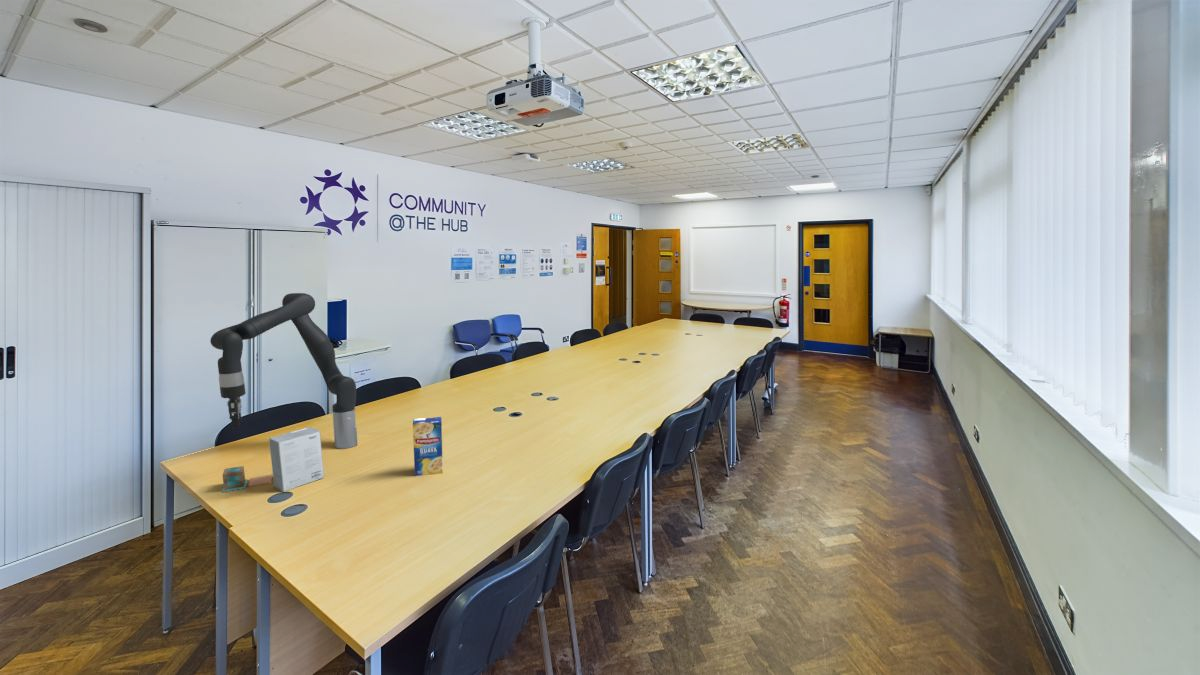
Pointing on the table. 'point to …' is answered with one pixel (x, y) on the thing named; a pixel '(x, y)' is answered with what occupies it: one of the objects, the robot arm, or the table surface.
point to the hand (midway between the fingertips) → (237, 424)
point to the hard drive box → (296, 458)
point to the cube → (233, 477)
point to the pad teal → (235, 488)
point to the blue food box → (427, 446)
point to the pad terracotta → (260, 480)
